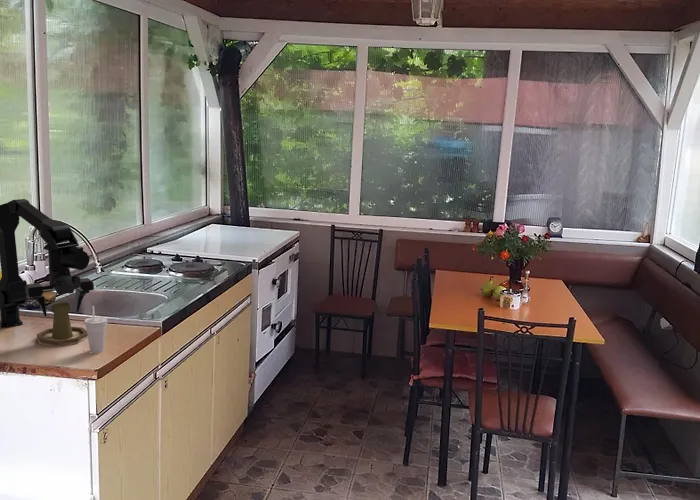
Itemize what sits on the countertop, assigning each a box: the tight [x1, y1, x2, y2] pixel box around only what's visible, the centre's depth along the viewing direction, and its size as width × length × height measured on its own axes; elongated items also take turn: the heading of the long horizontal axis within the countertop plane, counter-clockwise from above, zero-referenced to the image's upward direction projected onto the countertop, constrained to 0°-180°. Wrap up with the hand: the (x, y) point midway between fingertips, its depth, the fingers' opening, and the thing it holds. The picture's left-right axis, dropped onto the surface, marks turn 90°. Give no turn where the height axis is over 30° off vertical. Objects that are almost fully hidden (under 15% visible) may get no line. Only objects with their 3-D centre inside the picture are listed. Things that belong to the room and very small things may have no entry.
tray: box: [36, 325, 88, 347], centre depth 201 cm, size 14×14×2 cm
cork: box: [51, 301, 73, 340], centre depth 200 cm, size 6×6×11 cm
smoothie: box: [83, 305, 108, 354], centre depth 191 cm, size 6×6×14 cm
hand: (61, 314), depth 200 cm, fingers open, 9 cm apart
